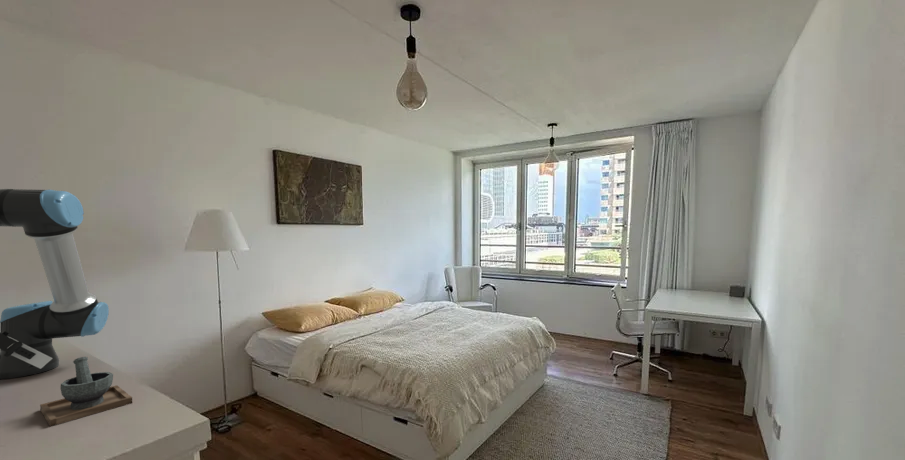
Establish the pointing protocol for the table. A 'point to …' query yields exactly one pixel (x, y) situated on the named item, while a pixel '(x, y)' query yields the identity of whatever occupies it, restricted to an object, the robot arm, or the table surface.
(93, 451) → the table surface
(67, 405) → the walnut tray
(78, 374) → the mortar and pestle
